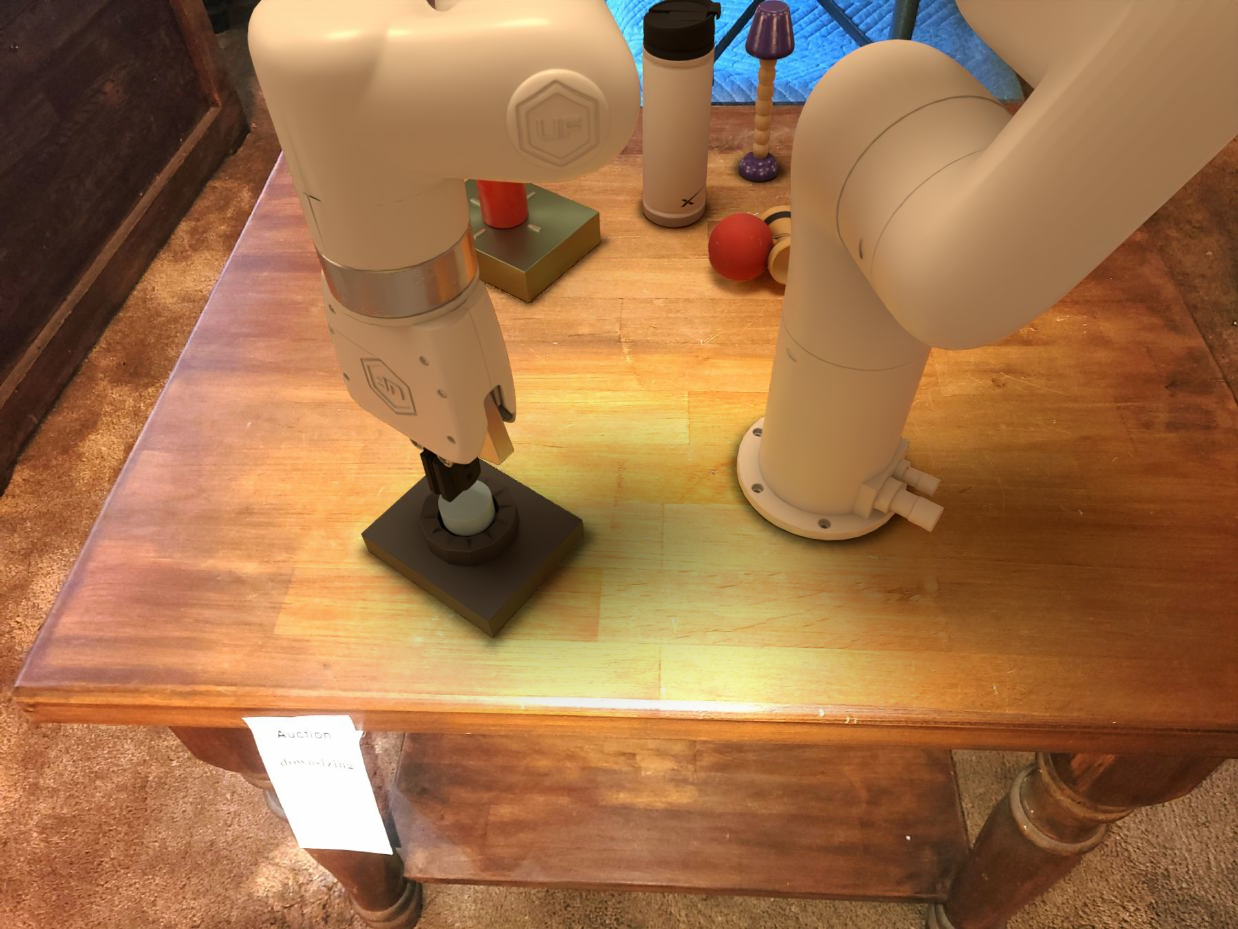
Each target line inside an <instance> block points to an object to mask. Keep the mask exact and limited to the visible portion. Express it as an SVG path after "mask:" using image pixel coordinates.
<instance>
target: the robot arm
mask: <svg viewBox="0 0 1238 929" xmlns="http://www.w3.org/2000/svg"><path fill="white" fill-rule="evenodd" d="M954 1H955V3H956V6H957V9H958V11H959V12H960V14H961V16H962V17H963V18H964V20H965V21H966V23H967V24H968V25H969V27H970V28H971V29H972V30H973V31H974V33H975V34H976V35H977V36H978V37H979V38H980V40H982V41H983V42H984V43H985V44H986V45H987V46H988V47H989V48H990V49H991V50H992V51H993V52H994V53H995V54H996V55H997V56H998V57H999V58H1000V59H1002V60H1003V61H1004V62H1005V63H1006V64H1007V65H1008V66H1009V67H1010V68H1011V69H1012V70H1013V71H1015V73H1016V74H1017V75H1019V76H1020V77H1021V79H1023V80H1024V81H1025V82H1026V83H1027V84H1028V85H1029V86H1030V87H1031V88H1032V89H1033V91H1032V92H1031V93H1030V94H1029V96H1028V97H1027V98H1026V100H1025V102H1024V103H1023V104H1022V105H1021V107H1019V109H1018V110H1017V111H1016V112H1015V114H1014V115H1013V114H1012V113H1011V111H1010V110H1008V108H1007V107H1006V106H1005V105H1004V104H1003V102H1002V103H1001V101H1000V100H998V98H997V97H995V95H994V94H993V93H992V92H991V91H989V90H988V88H987V87H986V86H985V85H984V84H982V83H981V82H980V81H979V80H978V79H977V78H976V77H975V76H974V75H973V74H972V73H971V72H970V71H969V70H968V69H967V68H965V67H964V66H963V65H962V64H960V63H959V62H958V61H957V60H955V59H954V58H953V57H951V56H950V55H947V53H944V52H943V51H941V50H939V49H937V48H936V47H933V46H930V45H928V44H927V43H922V42H920V41H915V40H910V39H909V40H908V39H886V40H880V41H876V42H871V43H868V44H865V45H863V46H861V47H859V48H858V47H857V49H854V50H853V51H851V52H849V53H847V54H846V55H844V56H843V57H842V58H840V59H839V60H838V61H836V62H835V63H834V64H833V65H831V67H830V68H829V69H828V70H826V72H825V73H824V74H823V75H822V76H821V77H820V79H819V80H818V82H816V84H815V86H814V87H813V89H812V90H811V92H810V93H809V95H808V97H807V99H806V101H805V102H804V105H803V107H802V110H801V112H800V115H799V117H798V120H797V124H796V128H795V132H794V135H793V142H792V148H791V149H792V150H791V156H790V157H791V158H790V207H791V242H790V256H789V266H788V274H787V281H786V285H785V290H784V296H783V302H782V307H781V312H780V317H779V323H778V324H779V325H778V330H777V336H776V341H775V349H774V355H773V361H772V368H771V374H770V380H769V387H768V391H767V392H768V393H767V399H766V404H765V410H764V416H762V417H760V418H759V419H757V420H756V422H755V423H753V424H752V425H751V426H750V427H749V429H748V430H747V431H746V433H745V434H744V435H743V437H742V440H741V442H740V444H739V446H738V453H737V457H736V475H737V480H738V485H739V486H740V489H741V491H742V493H743V495H744V498H746V500H747V501H748V502H749V504H750V505H751V506H752V508H753V509H754V510H755V511H756V512H757V513H758V514H759V515H761V516H762V517H763V518H764V519H766V521H768V522H770V523H772V524H773V525H774V526H776V527H778V528H780V529H782V530H785V531H787V532H789V533H790V534H793V535H796V536H801V537H804V538H807V539H813V540H821V541H844V540H850V539H853V538H859V537H862V536H864V535H867V534H870V533H871V532H874V531H876V530H878V529H879V528H881V527H882V526H883V525H885V524H886V523H887V522H888V521H889V520H890V519H892V517H893V516H894V515H896V514H897V515H900V516H902V518H905V519H907V521H908V522H910V523H912V524H914V525H916V526H918V527H920V528H922V529H924V530H926V531H928V532H930V533H931V532H933V530H934V528H935V527H936V525H937V523H938V522H939V520H940V518H941V516H942V514H943V512H944V510H945V507H944V506H942V505H940V504H937V503H935V502H933V501H932V500H929V499H927V498H925V497H923V496H921V495H919V496H918V495H917V494H914V493H912V492H910V491H908V490H907V486H910V487H912V488H914V489H915V490H916V491H918V492H920V493H922V494H925V495H927V496H929V497H931V498H932V497H933V496H934V494H935V493H936V491H937V489H938V488H939V485H940V483H941V481H942V480H941V479H939V478H938V477H935V476H933V475H931V474H929V473H927V472H925V471H924V472H923V471H921V470H919V469H916V468H914V467H912V466H911V465H912V462H911V461H909V460H908V459H906V456H907V453H908V450H909V447H910V445H911V441H910V440H909V439H907V438H905V437H903V436H902V435H903V433H904V430H905V427H906V425H907V424H906V423H907V421H908V419H909V415H910V413H911V410H912V409H911V408H912V406H913V403H914V402H915V398H916V395H917V392H918V389H919V387H920V383H921V380H922V378H923V375H924V372H925V370H926V366H927V364H928V360H929V358H930V354H931V352H932V349H933V348H935V349H939V350H945V351H953V352H955V351H956V352H957V351H959V352H960V351H970V350H976V349H979V348H983V347H987V346H989V345H992V344H995V343H997V342H1000V341H1002V340H1004V339H1007V338H1008V337H1010V336H1012V335H1014V334H1016V333H1017V332H1019V331H1021V330H1023V329H1024V328H1026V327H1027V326H1029V325H1030V324H1031V323H1033V322H1034V321H1036V320H1037V319H1038V318H1040V317H1041V316H1042V315H1044V314H1045V313H1047V312H1048V311H1049V310H1050V309H1051V308H1053V307H1055V305H1057V304H1058V303H1059V302H1060V301H1061V300H1062V299H1064V298H1065V297H1066V296H1067V295H1068V294H1069V293H1070V292H1071V291H1072V290H1073V289H1074V288H1075V287H1077V286H1078V285H1079V284H1080V283H1081V282H1083V280H1085V279H1086V277H1088V276H1089V275H1090V274H1091V273H1092V272H1093V271H1094V270H1095V269H1096V268H1098V266H1099V265H1101V264H1102V263H1103V262H1104V261H1105V260H1106V259H1107V258H1108V257H1109V256H1110V255H1111V254H1113V252H1115V250H1117V249H1118V248H1119V247H1120V246H1121V245H1122V244H1123V243H1124V242H1125V241H1126V240H1127V239H1128V238H1129V237H1130V236H1131V235H1133V234H1134V233H1135V232H1136V231H1137V230H1139V228H1140V227H1141V226H1142V225H1143V224H1144V223H1146V221H1147V220H1149V219H1150V218H1151V217H1152V216H1153V215H1154V214H1155V213H1156V212H1157V211H1158V210H1159V209H1160V208H1162V207H1163V206H1164V205H1165V204H1166V203H1167V202H1168V201H1169V200H1170V199H1171V198H1172V197H1173V196H1174V195H1175V194H1177V193H1178V191H1180V190H1181V189H1182V188H1183V187H1184V186H1185V185H1186V184H1187V183H1188V182H1189V181H1191V180H1192V178H1193V177H1194V176H1196V175H1197V174H1198V173H1199V172H1200V171H1201V170H1202V169H1203V168H1204V167H1205V166H1207V165H1208V163H1209V162H1211V161H1212V160H1213V159H1214V158H1215V157H1216V156H1217V155H1218V154H1219V153H1220V152H1221V151H1222V150H1223V149H1224V148H1226V146H1227V145H1229V144H1230V142H1232V140H1234V138H1235V137H1237V135H1238V0H954ZM247 29H248V30H247V31H248V32H247V45H248V50H249V54H250V58H251V62H252V66H253V68H254V72H255V75H256V78H257V82H258V84H259V87H260V90H261V92H262V96H263V99H264V102H265V104H266V108H267V110H268V112H269V116H270V119H271V122H272V125H273V127H274V128H273V129H274V130H275V133H276V137H277V139H278V143H279V146H280V148H281V152H282V154H283V157H284V160H285V163H286V166H287V169H288V172H289V174H290V177H291V180H292V183H293V186H294V190H295V192H296V195H297V199H298V202H299V204H300V207H301V211H302V214H303V216H304V220H305V222H306V225H307V228H308V232H309V234H310V237H311V240H312V243H313V246H314V249H315V252H316V255H317V258H318V261H319V264H320V267H321V272H320V274H321V276H320V278H321V292H322V301H323V306H324V307H323V308H324V313H325V318H326V321H327V327H328V330H329V334H330V338H331V342H332V345H333V349H334V352H335V356H336V359H337V363H338V366H339V369H340V370H339V371H340V372H341V375H342V378H343V382H344V385H345V387H346V390H347V392H348V394H349V396H350V397H351V399H352V400H353V401H354V402H355V403H356V404H357V405H358V406H359V407H360V408H362V409H363V410H364V411H365V412H368V413H369V414H370V415H372V416H373V417H375V418H377V420H378V419H379V420H380V421H381V422H383V423H384V424H386V425H388V426H389V427H390V428H392V429H394V430H396V431H397V432H399V433H400V434H402V435H404V436H405V437H407V438H408V439H409V441H410V443H411V444H412V445H413V446H414V447H415V448H416V449H418V450H419V451H422V452H420V453H419V457H420V460H421V463H422V467H423V470H424V473H425V474H424V475H426V478H427V481H428V484H429V488H430V491H432V492H433V493H435V494H437V495H439V494H441V496H442V498H443V499H444V500H446V501H447V502H452V501H453V500H454V499H455V498H456V497H457V496H458V495H460V494H461V493H462V492H463V491H466V490H468V489H469V488H470V487H471V486H473V485H474V484H475V482H476V481H477V479H478V477H479V475H480V473H481V467H480V462H479V458H480V459H482V460H483V461H485V462H489V463H492V464H494V465H496V466H500V465H501V464H503V463H504V462H505V461H506V460H507V459H508V458H509V457H510V456H511V455H512V454H514V452H515V448H514V446H513V445H514V444H513V443H512V440H511V437H510V435H509V433H508V429H507V428H506V425H505V423H508V424H513V423H515V422H516V419H517V394H516V388H515V383H514V377H513V371H512V366H511V362H510V358H509V353H508V350H507V345H506V342H505V338H504V335H503V332H502V328H501V324H500V321H499V319H498V316H497V312H496V310H495V306H494V304H493V302H492V299H491V296H490V294H489V291H488V288H487V286H486V284H485V281H483V280H481V279H479V278H478V277H479V266H478V260H477V255H476V249H475V243H474V237H473V231H472V225H471V219H470V213H469V207H468V201H467V195H466V189H465V183H464V182H465V180H468V179H475V180H489V181H502V182H516V183H532V184H556V183H563V182H568V181H574V180H578V179H581V178H584V177H587V176H590V175H592V174H594V173H596V172H598V171H600V170H601V169H603V168H605V167H606V166H608V165H609V164H610V163H612V162H613V161H614V160H615V159H616V158H617V157H618V156H619V155H620V154H621V153H622V152H623V150H625V148H626V147H627V145H628V144H629V143H630V141H631V139H632V137H633V135H634V133H635V130H636V128H637V126H638V122H639V119H640V118H639V117H640V113H641V109H642V108H641V107H642V106H641V105H642V90H641V89H642V88H641V87H642V86H641V80H640V74H639V71H638V68H637V65H636V61H635V58H634V55H633V52H632V50H631V47H629V44H628V42H627V40H626V38H625V35H624V34H623V31H622V30H621V29H620V26H619V24H618V23H617V21H616V19H615V17H614V15H613V13H612V11H611V9H610V8H609V5H608V4H607V1H606V0H434V7H432V6H431V4H430V3H429V2H428V0H260V1H259V2H258V3H257V5H256V6H255V7H254V8H253V11H252V12H251V16H250V18H249V22H248V28H247Z"/></svg>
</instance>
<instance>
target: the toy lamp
mask: <svg viewBox="0 0 1238 929" xmlns="http://www.w3.org/2000/svg"><path fill="white" fill-rule="evenodd" d="M795 48H796V42H795V34H794V27H793V20H792V14H791V9H790V6H789V4H788V3H786V2H785V1H783V0H763V1H762V2H760V3H759V4H758V5H757V6H756V9H755V10H754V14H753V18H752V22H751V23H750V27H749V31H748V33H747V37H746V40H745V44H744V49H745V52H746V53H747V54H748V55H749V56H750V57H752V58H755V59H758V62H759V66H760V67H759V68H758V71H757V80H758V83H757V86H756V96H757V98H756V100H755V103H754V104H755V107H754V108H755V112H756V113H755V115H754V120H753V122H754V126H755V127H754V130H753V145H752V151H749V152H748V153H746V154H745V155H744V156H743V157H742V158H741V160H740V162H739V163H738V168H737V169H738V170H737V171H738V173H739V175H740V176H741V177H742V178H744V179H746V180H748V181H751V182H767V181H769V180H772V179H774V178H775V177H777V176H778V174H779V169H780V166H779V162H778V160H777V158H776V157H775V156H774V154H772V153H771V152H770V142H769V141H770V139H771V128H770V127H771V125H772V122H773V120H772V119H773V116H772V111H773V108H774V101H773V96H774V94H775V84H774V82H775V80H776V75H777V70H776V66H777V63H778V60H783V59H785V58H788V57H789V56H790V55H792V54H793V53H794V51H795Z"/></svg>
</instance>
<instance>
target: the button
mask: <svg viewBox="0 0 1238 929" xmlns="http://www.w3.org/2000/svg"><path fill="white" fill-rule="evenodd" d="M438 505H439V509H440V513H441V516H442V519H443V523H444V525H445V527H446V528H447V529H448V530H449V531H450V532H452V533H454V534H456V535H460V536H471V535H475V534H478V533H480V532H482V531H484V530H485V529H486V528H488V527H489V526H490V524H491V523H492V521H493V519H494V516H495V508H494V504H493V499H492V495H491V491H490V489H489V488H488V487H487V486H486V485H485V484H484V483H482V482H481V481H478V480H477V481H476V482H475V484H474V485H473V486H471V487H470V488H469V489H468V490H466V491H463V492H462V493H461V494H460V495H458V496H457V497H456V498H455V499H454V500H453V501H452V502H447V501H446V500H444V499H443V498H442V496H441V494H440V497H439V501H438Z"/></svg>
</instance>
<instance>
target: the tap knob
mask: <svg viewBox="0 0 1238 929" xmlns="http://www.w3.org/2000/svg"><path fill="white" fill-rule="evenodd" d="M476 184H477V190H478V196H479V202H480V208H481V213H482V218H483V220H484V222H485V223H486V224H488V225H489V226H492V227H495V228H511V227H515V226H517V225H519V224H521V223H523V222H524V221H525V220H526V219H527V217H528V214H529V211H528V202H527V194H526V185H525V183H516V182H502V181H489V180H476Z"/></svg>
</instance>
